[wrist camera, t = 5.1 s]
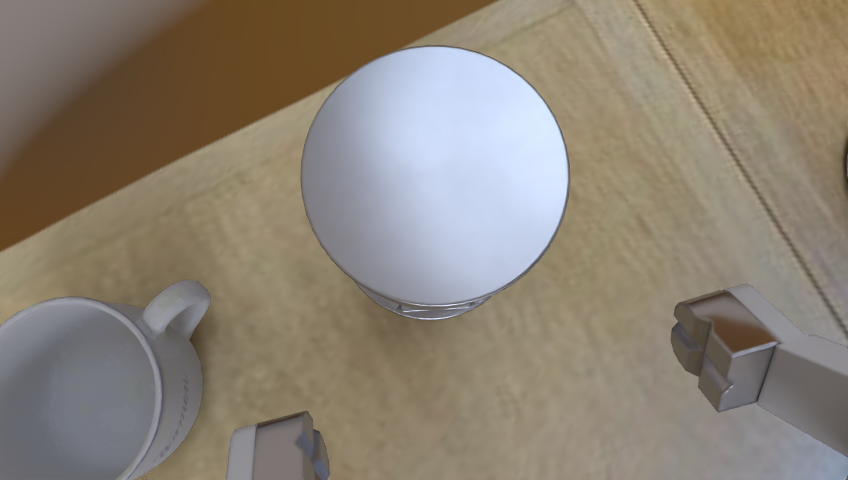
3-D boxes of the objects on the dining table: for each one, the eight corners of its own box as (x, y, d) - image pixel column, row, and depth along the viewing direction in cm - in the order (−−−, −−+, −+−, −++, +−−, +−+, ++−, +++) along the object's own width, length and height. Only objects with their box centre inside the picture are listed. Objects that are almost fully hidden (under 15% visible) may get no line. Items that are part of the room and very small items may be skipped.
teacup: (107, 503, 34) (12, 560, 26) (26, 360, 35) (-89, 373, 27) (291, 377, 35) (254, 394, 27) (207, 243, 36) (147, 223, 28)
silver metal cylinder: (505, 142, 21) (557, 36, 13) (519, 305, 20) (584, 299, 12) (343, 151, 21) (296, 50, 13) (350, 315, 20) (303, 315, 12)
